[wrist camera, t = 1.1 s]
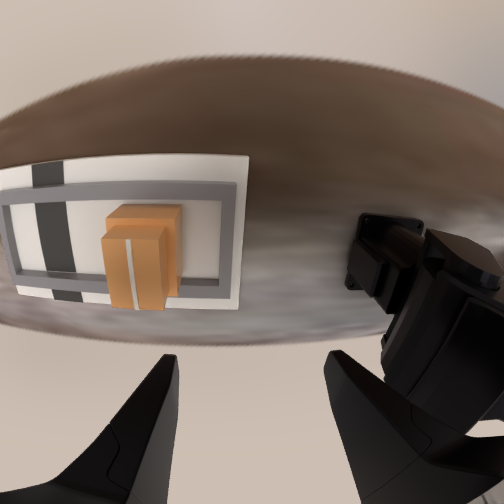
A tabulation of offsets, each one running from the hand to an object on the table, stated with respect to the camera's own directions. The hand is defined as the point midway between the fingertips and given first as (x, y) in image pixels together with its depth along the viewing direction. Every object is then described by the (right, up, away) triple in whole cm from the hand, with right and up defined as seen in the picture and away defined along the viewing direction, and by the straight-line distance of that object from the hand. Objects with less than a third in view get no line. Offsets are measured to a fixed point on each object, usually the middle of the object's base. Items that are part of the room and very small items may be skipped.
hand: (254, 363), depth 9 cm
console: (-11, +5, +10) cm, 15 cm away
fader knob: (-7, +5, +9) cm, 12 cm away
